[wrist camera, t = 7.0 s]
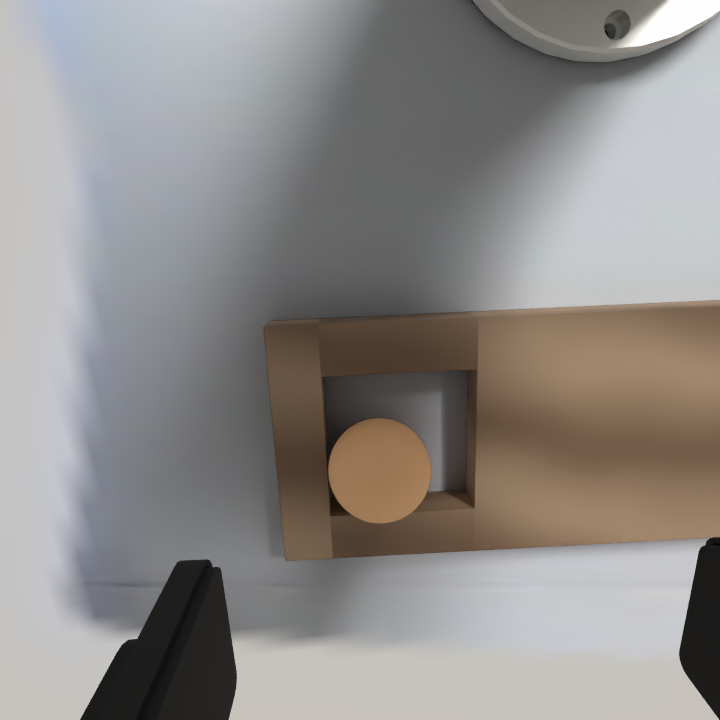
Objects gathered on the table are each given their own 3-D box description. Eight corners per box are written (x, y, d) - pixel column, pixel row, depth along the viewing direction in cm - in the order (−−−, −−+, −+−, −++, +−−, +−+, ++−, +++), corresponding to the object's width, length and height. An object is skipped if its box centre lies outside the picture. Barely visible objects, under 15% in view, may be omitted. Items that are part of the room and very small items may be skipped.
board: (269, 320, 19) (263, 327, 17) (797, 296, 19) (834, 301, 18) (289, 539, 21) (285, 560, 20) (756, 513, 22) (786, 533, 20)
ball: (331, 445, 16) (446, 436, 16) (322, 408, 19) (415, 401, 20) (335, 551, 16) (444, 539, 17) (326, 495, 20) (415, 486, 21)
